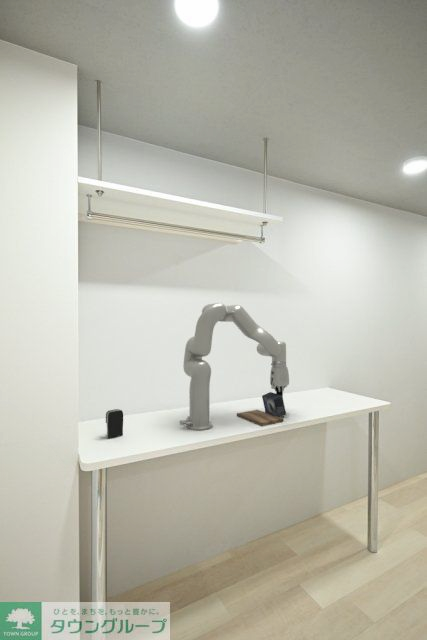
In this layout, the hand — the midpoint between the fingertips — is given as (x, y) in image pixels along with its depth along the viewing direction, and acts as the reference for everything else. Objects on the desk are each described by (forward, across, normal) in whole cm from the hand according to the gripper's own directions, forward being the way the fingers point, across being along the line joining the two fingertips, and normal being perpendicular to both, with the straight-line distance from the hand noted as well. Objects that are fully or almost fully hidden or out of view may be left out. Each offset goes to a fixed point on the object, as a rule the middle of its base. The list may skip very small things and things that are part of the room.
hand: (279, 398), depth 173 cm
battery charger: (+8, -84, +14) cm, 86 cm away
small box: (+8, -3, 0) cm, 9 cm away
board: (+8, -14, 0) cm, 16 cm away
